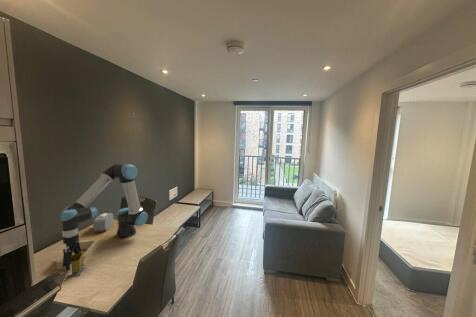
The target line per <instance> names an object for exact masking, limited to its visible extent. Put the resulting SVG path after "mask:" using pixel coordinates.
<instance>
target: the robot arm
mask: <svg viewBox="0 0 476 317" xmlns="http://www.w3.org/2000/svg"><path fill="white" fill-rule="evenodd" d="M137 176H138V168H137V167H136V166H135V165H133V164H129V163H115V164H112V165H110V166H109V167H107V168H106V169H105V170H104V171H103V172H102V173H101V174H100V177H99V178H97V180H96V181H95V182H94V183H93V184H92V185H91V186H90V187H89V188H88V189H87V190H85V192H84V193H83V194H82V195H81V196H80V197H79V198H78V199H77V200H76V201H75V202H74V203H73V204H72V205H68V206H66V207H65V208H64V209H63V211H61V214H60V221H61V230H62V231H61V233H62V243H63V244H64V245H66V246H65V248H64V249H62V250H63V251H62V252H63V253H64V254H63V267H64V266H65V268H66V271H67V270H69V272H68V274H67V276H68V275H72V266H71V264H70V263H71V257H72V255H75V254H79V253H82V250H81V248H80V244H79V241H80V236H79V224H81V223H83V222H86V221H89V220H93V219H95V218H97V217H98V216H99V213H98V208H96V207H95V206H91V207H89V205H90V204H91V203H92V202H93V201H94V200H95V199H96V198H97V196H98V195H99V194H100V193H101V192H102V191H103V190H104V189H105V188H106V187H107V186H108V185H109V184H110V183H112V182H113V181H114V180H115V179H118V181H119V183H120V184H122V187H123V191H124V195H125V198H126V203H127V206H128V207H124V208H120V209H119V210H117V216H116V217H117V226H118V227H117V231H116V234H115V236H116V237H117V238H118V239H126V238H130V237H132V236H134V235H135V234H136V233H137V229H136V227H140V226H143V225H145V224H146V222H147V221H148V216H149V215H148V213H147V212H146V211H145V210H144V207H143V206H141V204H140V199H139V195H138V194H139V193H138V191H137V186H136V183H135V182H136V180H137ZM135 226H136V227H135ZM69 251H70V252H69ZM73 252H74V253H73ZM72 253H73V254H72Z"/></svg>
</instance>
